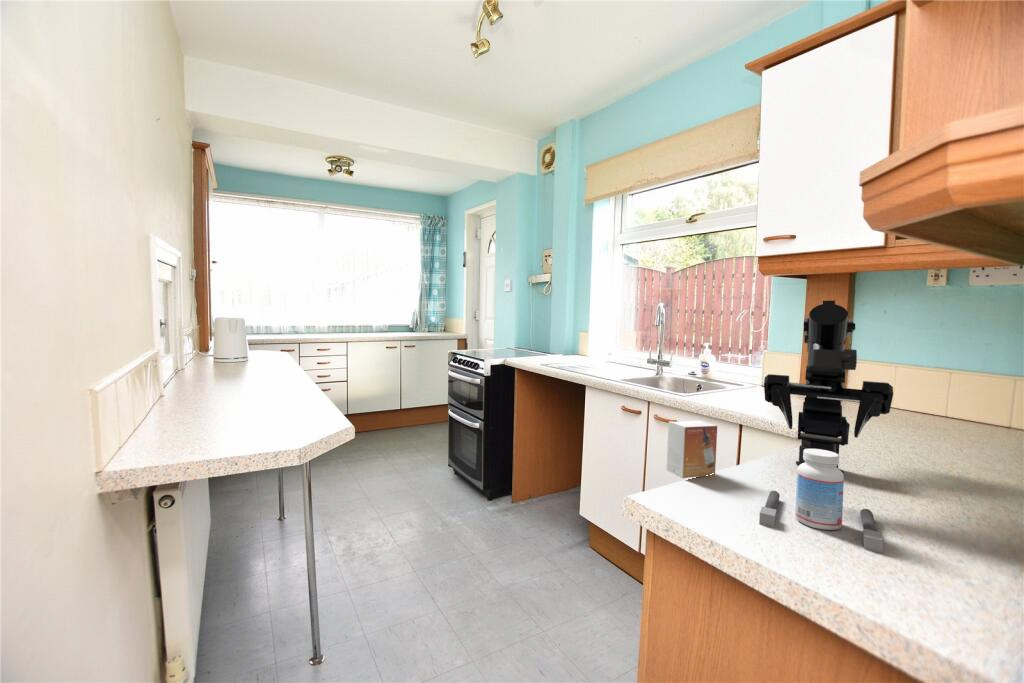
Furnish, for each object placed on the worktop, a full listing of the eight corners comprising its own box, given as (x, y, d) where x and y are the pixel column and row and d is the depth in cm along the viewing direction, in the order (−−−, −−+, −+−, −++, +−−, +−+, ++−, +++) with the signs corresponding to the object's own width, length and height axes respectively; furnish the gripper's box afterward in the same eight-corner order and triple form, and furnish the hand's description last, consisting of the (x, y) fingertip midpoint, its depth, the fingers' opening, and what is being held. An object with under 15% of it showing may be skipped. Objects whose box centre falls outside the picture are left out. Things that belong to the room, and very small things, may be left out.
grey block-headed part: (858, 517, 74) (858, 506, 74) (874, 520, 73) (874, 509, 73) (864, 549, 63) (864, 536, 63) (882, 553, 62) (883, 540, 62)
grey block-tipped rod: (767, 498, 81) (768, 488, 81) (780, 500, 80) (781, 490, 80) (759, 524, 71) (759, 512, 71) (774, 527, 69) (774, 516, 69)
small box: (682, 479, 90) (684, 427, 90) (665, 470, 96) (667, 420, 95) (716, 476, 92) (718, 425, 92) (698, 467, 98) (699, 419, 97)
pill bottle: (849, 533, 68) (853, 459, 67) (804, 529, 69) (808, 456, 69) (830, 517, 74) (833, 448, 73) (788, 513, 75) (792, 445, 75)
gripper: (767, 331, 86) (757, 396, 77) (895, 335, 76) (900, 410, 67) (769, 370, 93) (760, 433, 84) (887, 377, 82) (891, 451, 74)
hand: (822, 431), depth 77 cm, fingers open, 9 cm apart
